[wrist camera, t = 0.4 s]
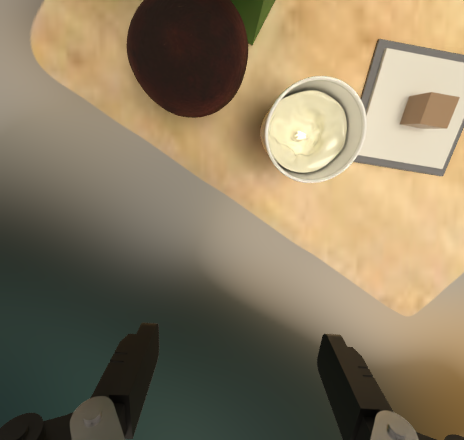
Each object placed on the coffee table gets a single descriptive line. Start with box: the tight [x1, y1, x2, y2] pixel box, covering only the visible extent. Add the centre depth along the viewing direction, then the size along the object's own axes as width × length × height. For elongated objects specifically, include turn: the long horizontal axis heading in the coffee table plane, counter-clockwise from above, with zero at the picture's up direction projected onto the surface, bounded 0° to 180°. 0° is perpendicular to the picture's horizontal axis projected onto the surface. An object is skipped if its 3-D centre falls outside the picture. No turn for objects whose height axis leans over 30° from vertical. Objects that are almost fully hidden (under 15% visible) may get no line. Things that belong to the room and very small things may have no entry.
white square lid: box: [358, 48, 464, 169], centre depth 33 cm, size 13×13×5 cm
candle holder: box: [260, 76, 367, 183], centre depth 31 cm, size 10×10×12 cm
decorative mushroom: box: [127, 0, 248, 118], centre depth 27 cm, size 11×11×15 cm
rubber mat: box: [353, 39, 464, 176], centre depth 35 cm, size 15×15×1 cm
